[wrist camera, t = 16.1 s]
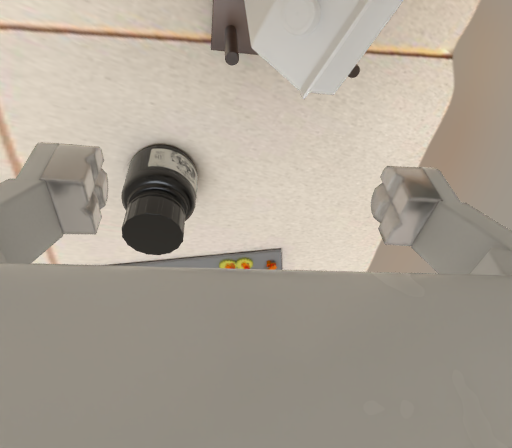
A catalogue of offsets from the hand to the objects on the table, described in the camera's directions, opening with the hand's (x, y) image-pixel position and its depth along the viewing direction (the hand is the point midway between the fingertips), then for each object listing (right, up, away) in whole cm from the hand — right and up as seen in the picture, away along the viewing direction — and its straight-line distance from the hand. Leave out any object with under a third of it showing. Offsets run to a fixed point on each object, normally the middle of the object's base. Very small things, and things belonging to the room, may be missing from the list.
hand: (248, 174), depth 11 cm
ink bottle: (-12, +6, +40) cm, 43 cm away
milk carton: (+4, +22, +24) cm, 33 cm away
